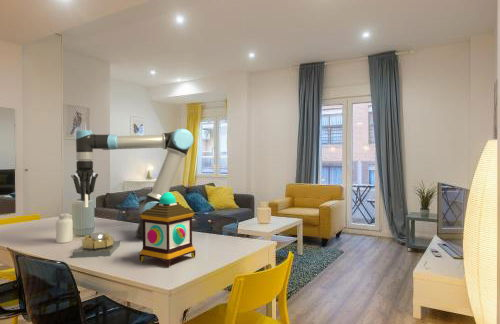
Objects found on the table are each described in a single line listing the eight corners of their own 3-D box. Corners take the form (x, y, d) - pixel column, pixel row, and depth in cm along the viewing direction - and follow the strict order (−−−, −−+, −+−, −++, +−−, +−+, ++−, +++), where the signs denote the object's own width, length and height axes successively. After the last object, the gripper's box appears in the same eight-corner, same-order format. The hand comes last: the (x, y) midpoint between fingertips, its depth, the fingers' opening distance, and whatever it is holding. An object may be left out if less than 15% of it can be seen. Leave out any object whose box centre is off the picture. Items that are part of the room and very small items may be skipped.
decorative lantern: (167, 251, 163) (167, 189, 163) (200, 257, 152) (199, 191, 152) (134, 262, 145) (133, 192, 145) (168, 269, 135) (167, 195, 135)
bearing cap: (119, 245, 175) (119, 229, 175) (109, 256, 155) (109, 237, 155) (87, 246, 172) (87, 230, 172) (72, 257, 152) (72, 239, 152)
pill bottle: (65, 243, 179) (65, 215, 179) (52, 243, 181) (52, 215, 181) (76, 240, 187) (75, 213, 187) (63, 239, 188) (63, 212, 188)
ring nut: (115, 245, 161) (115, 236, 161) (84, 249, 154) (84, 240, 154) (107, 237, 180) (107, 229, 180) (79, 240, 173) (79, 231, 173)
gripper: (93, 160, 178) (93, 205, 178) (67, 160, 168) (68, 208, 168) (100, 160, 174) (101, 206, 174) (75, 160, 163) (76, 209, 164)
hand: (85, 207), depth 171 cm, fingers closed
